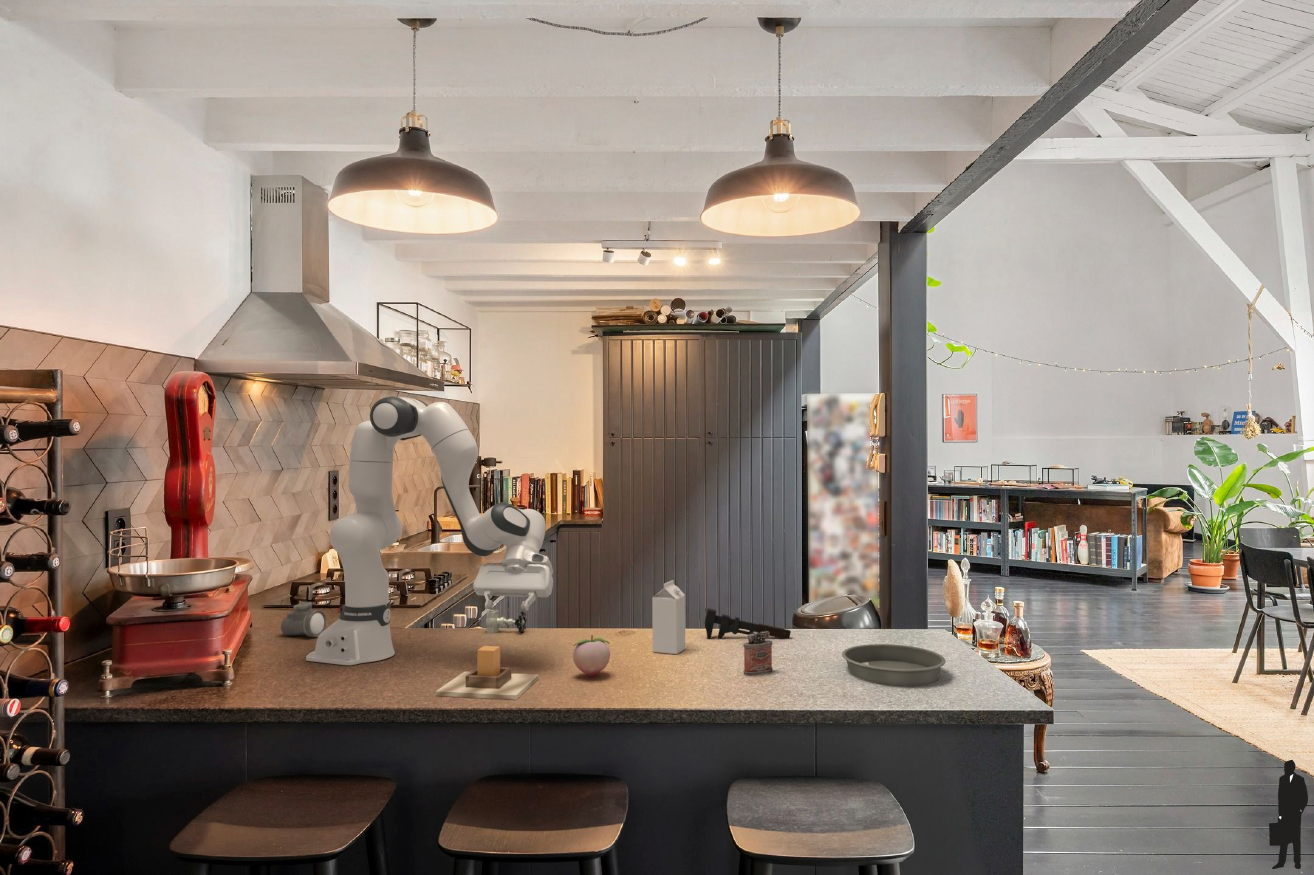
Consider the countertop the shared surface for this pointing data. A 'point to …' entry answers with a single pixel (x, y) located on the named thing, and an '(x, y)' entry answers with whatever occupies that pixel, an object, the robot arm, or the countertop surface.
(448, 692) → the socket board
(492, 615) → the valve
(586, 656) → the decorative fruit
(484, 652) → the orange cap block
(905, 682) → the cake pan
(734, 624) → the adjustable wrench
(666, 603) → the milk carton
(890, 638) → the countertop surface
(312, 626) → the pipe fitting
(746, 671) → the lighter
